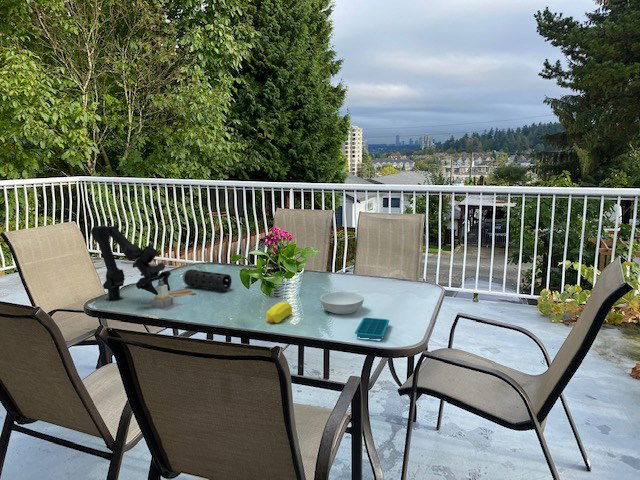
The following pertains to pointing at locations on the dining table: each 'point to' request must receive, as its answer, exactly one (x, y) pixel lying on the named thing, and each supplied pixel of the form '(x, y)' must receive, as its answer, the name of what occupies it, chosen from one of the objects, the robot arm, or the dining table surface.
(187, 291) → the pad
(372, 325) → the ice cube tray
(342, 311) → the serving bowl
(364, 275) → the dining table surface
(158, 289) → the plug
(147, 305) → the socket panel
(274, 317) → the yellow oblong piece
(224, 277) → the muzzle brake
